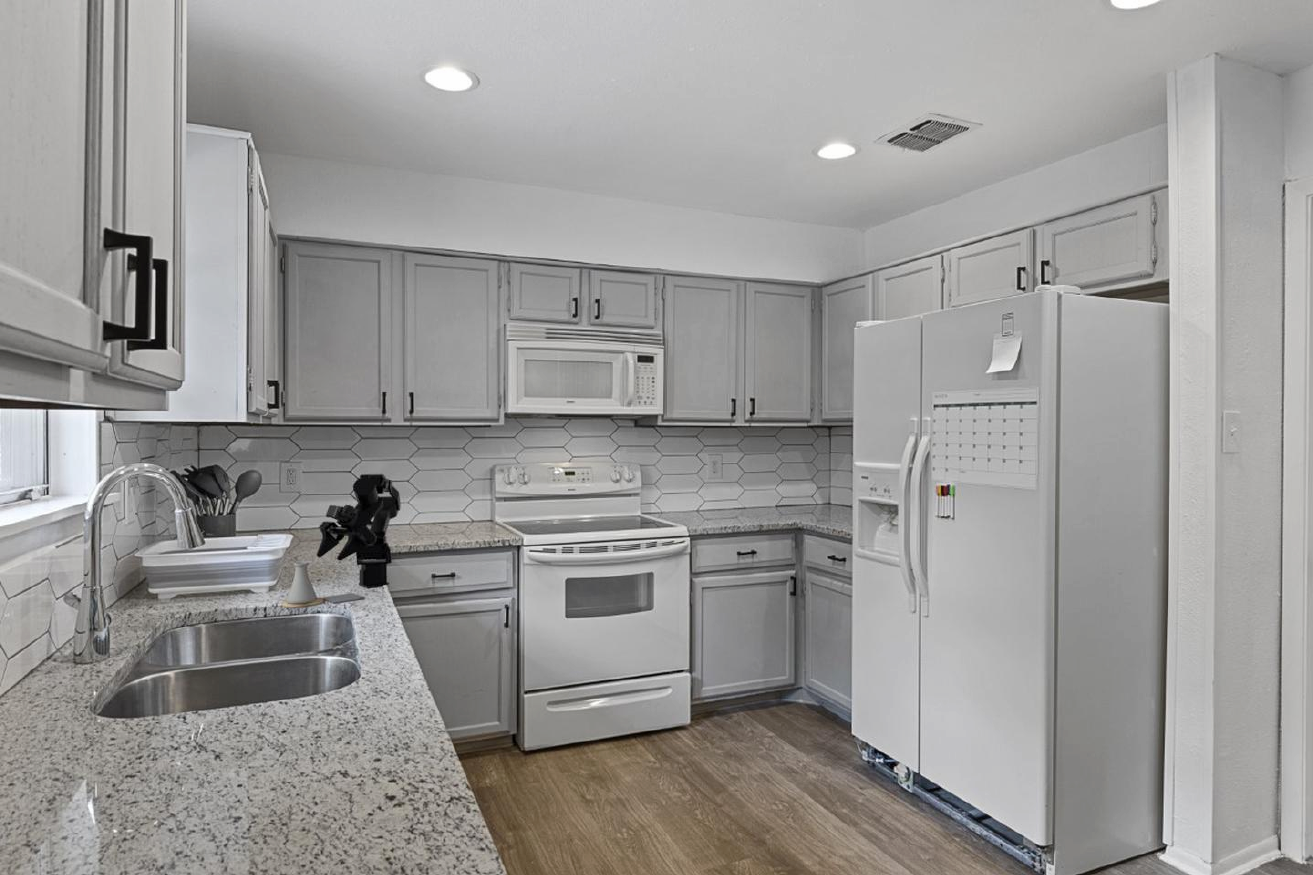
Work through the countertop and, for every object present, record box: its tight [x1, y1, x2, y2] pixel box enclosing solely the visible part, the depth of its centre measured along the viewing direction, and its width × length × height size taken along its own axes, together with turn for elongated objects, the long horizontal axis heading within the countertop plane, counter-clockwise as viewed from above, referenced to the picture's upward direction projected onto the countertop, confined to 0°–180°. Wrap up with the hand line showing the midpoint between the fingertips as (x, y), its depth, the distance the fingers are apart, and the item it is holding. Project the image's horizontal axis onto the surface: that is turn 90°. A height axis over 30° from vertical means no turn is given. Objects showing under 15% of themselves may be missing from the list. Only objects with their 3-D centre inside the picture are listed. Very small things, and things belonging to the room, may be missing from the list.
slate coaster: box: [322, 592, 366, 605], centre depth 207 cm, size 8×8×1 cm
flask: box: [285, 561, 319, 604], centre depth 202 cm, size 7×7×10 cm
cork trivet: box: [280, 597, 325, 608], centre depth 202 cm, size 10×10×1 cm
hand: (328, 558), depth 209 cm, fingers open, 9 cm apart
